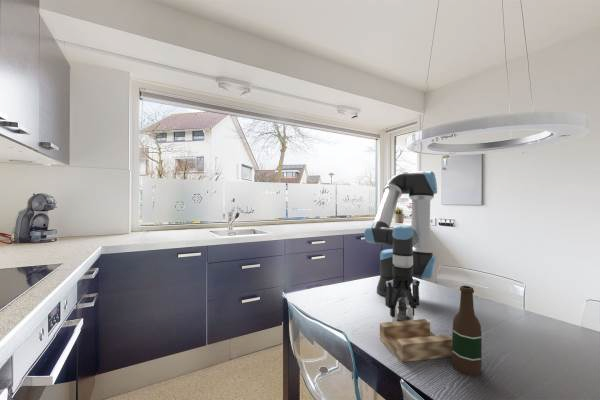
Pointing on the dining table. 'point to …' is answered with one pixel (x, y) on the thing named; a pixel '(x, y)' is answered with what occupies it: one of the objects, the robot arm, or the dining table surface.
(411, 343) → the well block
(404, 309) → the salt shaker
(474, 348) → the beer bottle
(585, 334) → the dining table surface
